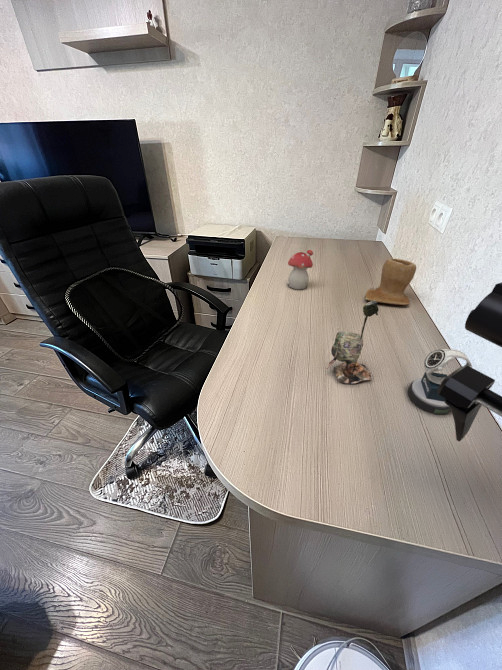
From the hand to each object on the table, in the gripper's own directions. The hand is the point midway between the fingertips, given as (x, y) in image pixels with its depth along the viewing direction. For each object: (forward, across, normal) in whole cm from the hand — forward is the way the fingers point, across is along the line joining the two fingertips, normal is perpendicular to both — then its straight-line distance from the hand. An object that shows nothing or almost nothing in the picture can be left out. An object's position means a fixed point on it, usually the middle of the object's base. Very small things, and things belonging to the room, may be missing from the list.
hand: (496, 465), depth 37 cm
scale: (+13, +15, -19) cm, 28 cm away
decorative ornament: (+13, +77, -33) cm, 85 cm away
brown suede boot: (+13, +51, -53) cm, 75 cm away
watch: (+11, +15, -19) cm, 27 cm away
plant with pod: (+13, +31, -10) cm, 35 cm away
